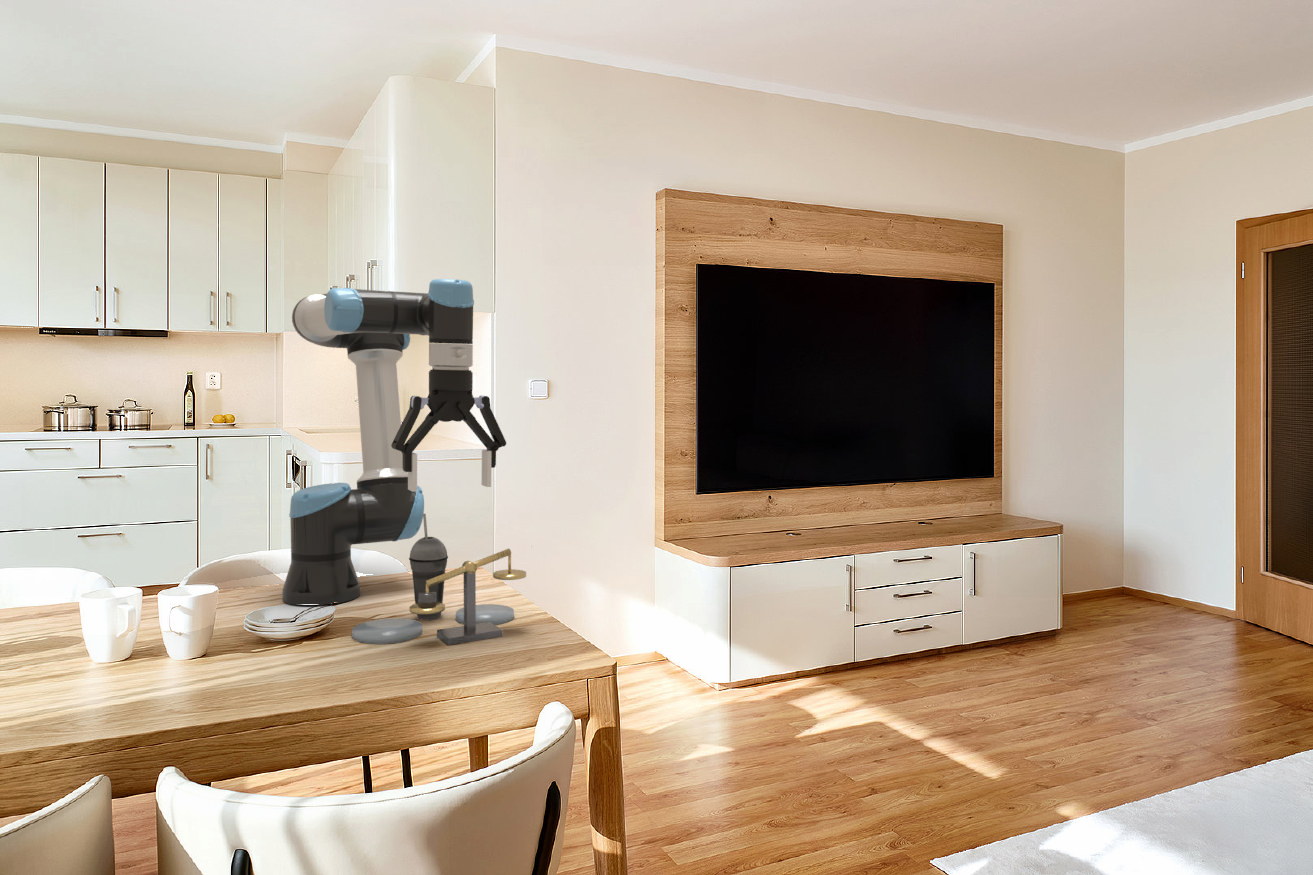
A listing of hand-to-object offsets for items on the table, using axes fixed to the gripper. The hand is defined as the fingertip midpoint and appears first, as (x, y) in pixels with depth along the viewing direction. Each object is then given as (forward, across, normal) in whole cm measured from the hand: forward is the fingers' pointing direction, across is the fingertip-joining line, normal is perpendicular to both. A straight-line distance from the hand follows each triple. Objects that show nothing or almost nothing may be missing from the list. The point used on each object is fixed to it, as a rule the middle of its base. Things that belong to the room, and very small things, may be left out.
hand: (450, 488), depth 157 cm
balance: (+26, +2, -4) cm, 27 cm away
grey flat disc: (+27, -10, +5) cm, 29 cm away
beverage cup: (+27, 0, +12) cm, 30 cm away
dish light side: (+27, +9, +6) cm, 29 cm away
